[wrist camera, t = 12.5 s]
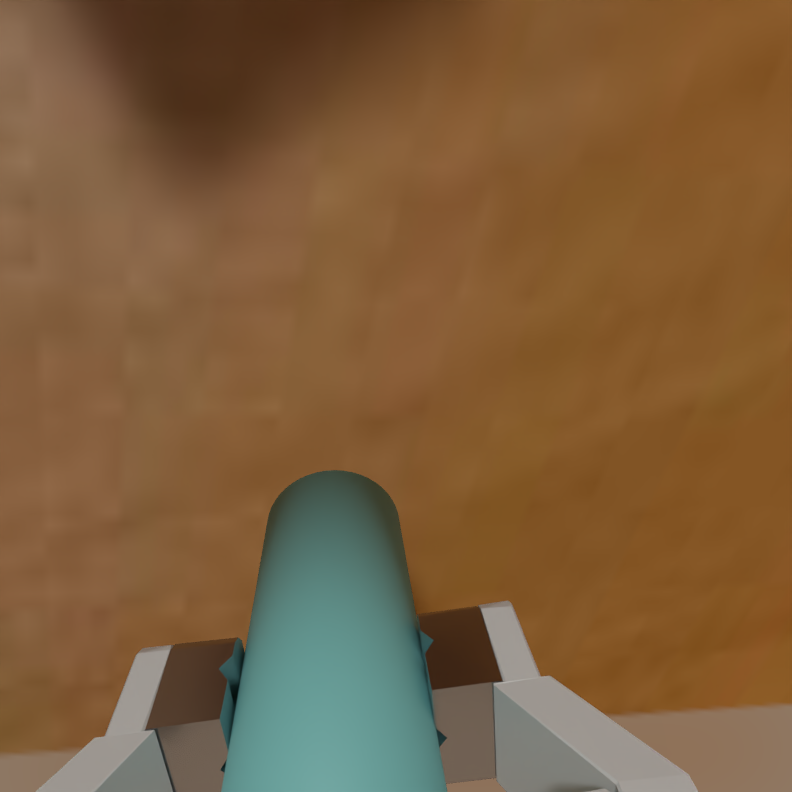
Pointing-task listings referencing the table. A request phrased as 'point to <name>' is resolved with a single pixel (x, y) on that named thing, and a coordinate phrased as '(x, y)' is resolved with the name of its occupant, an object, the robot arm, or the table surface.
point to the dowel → (333, 652)
